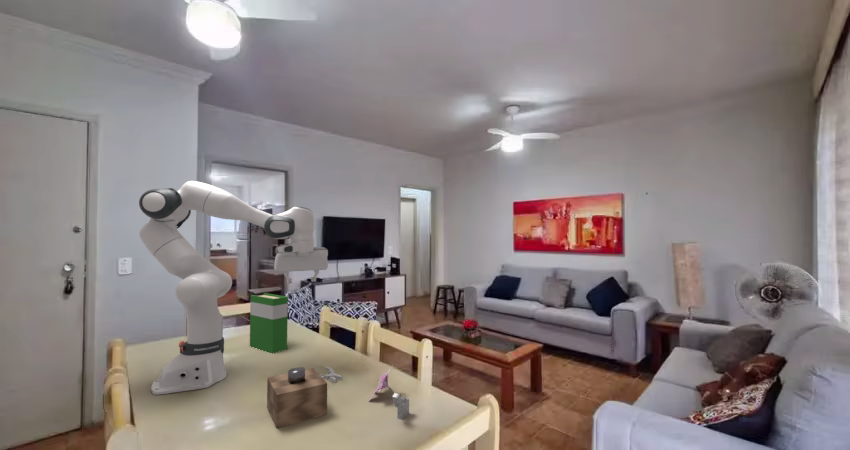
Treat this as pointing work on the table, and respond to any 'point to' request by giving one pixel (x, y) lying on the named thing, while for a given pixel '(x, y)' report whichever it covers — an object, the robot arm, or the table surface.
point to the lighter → (401, 405)
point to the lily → (383, 382)
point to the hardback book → (268, 322)
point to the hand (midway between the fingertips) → (301, 282)
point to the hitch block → (296, 398)
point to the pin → (296, 375)
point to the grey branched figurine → (332, 375)
